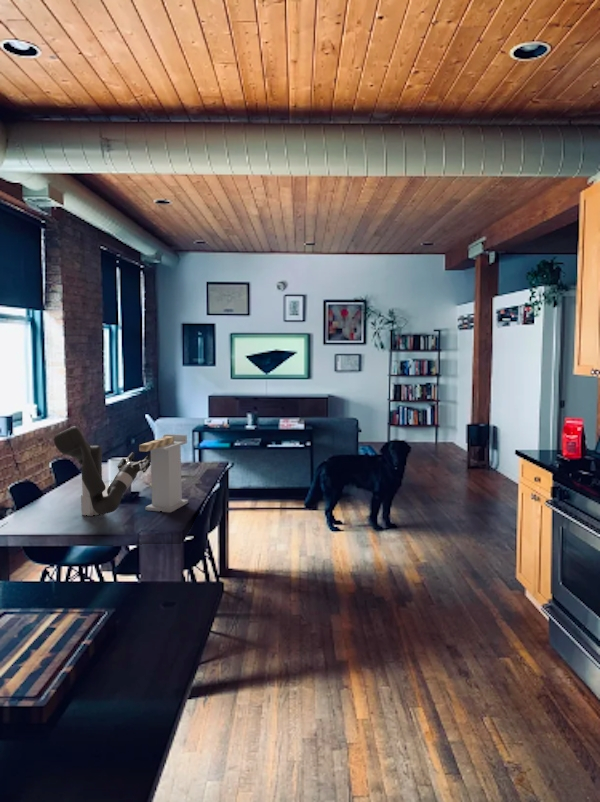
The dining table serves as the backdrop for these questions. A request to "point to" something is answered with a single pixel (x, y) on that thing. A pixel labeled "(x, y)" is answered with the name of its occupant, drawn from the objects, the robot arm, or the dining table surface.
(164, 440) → the brown wooden block
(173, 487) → the white plinth column
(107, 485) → the baseboard molding
